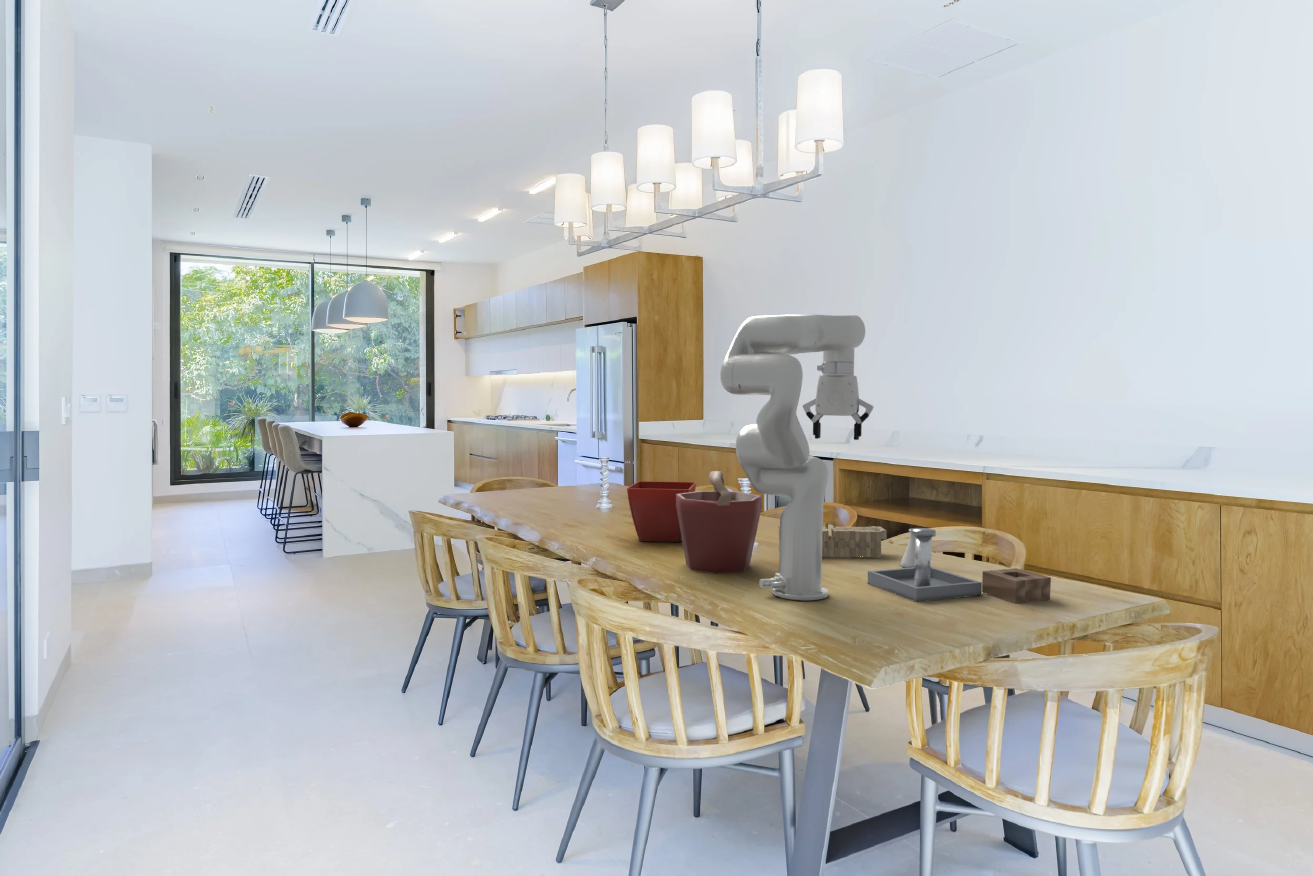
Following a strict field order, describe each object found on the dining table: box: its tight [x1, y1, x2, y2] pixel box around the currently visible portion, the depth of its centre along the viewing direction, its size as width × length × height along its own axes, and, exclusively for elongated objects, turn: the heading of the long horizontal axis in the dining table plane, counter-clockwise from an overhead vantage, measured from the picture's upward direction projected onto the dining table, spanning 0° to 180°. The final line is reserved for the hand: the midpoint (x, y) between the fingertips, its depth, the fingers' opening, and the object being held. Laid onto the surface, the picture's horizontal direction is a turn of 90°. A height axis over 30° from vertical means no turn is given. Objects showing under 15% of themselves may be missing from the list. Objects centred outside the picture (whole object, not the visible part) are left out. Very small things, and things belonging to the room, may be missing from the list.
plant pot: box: [626, 480, 697, 543], centre depth 251 cm, size 19×19×17 cm
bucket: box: [676, 470, 763, 575], centre depth 211 cm, size 24×22×25 cm
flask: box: [899, 528, 916, 568], centre depth 213 cm, size 7×7×10 cm
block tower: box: [778, 525, 887, 558], centre depth 229 cm, size 8×8×29 cm
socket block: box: [981, 567, 1052, 604], centre depth 183 cm, size 10×10×5 cm
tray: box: [867, 566, 982, 602], centre depth 189 cm, size 18×18×3 cm
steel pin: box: [911, 527, 937, 587], centre depth 188 cm, size 5×5×13 cm
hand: (836, 439), depth 200 cm, fingers open, 9 cm apart
